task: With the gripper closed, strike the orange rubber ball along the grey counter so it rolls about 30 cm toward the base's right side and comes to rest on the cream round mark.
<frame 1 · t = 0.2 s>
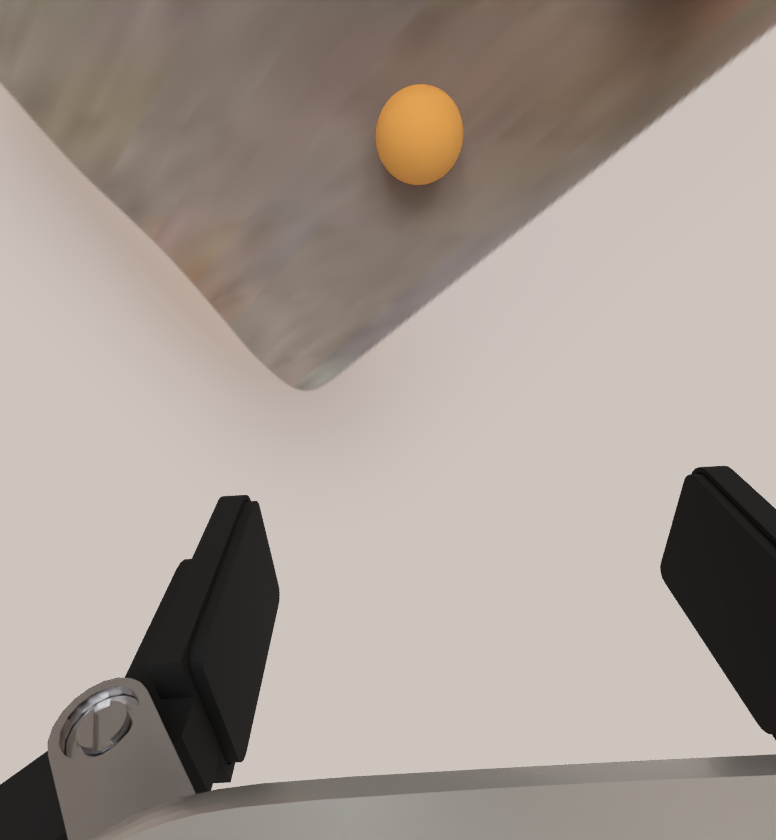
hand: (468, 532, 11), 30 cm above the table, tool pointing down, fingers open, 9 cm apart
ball: (419, 136, 31), on the table
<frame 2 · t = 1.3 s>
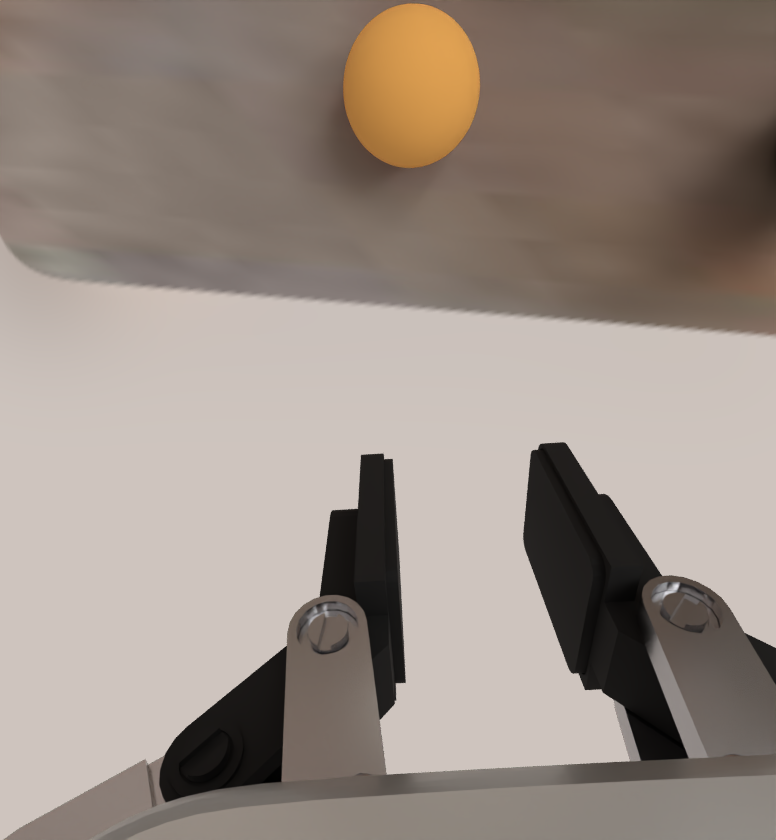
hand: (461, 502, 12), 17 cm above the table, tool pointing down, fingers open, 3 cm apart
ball: (411, 91, 20), on the table
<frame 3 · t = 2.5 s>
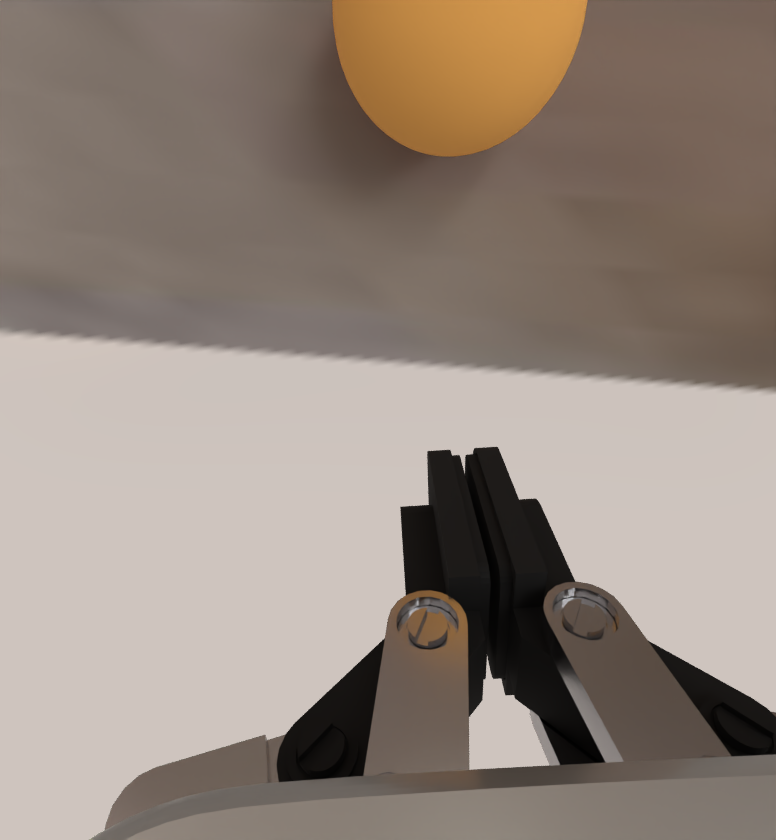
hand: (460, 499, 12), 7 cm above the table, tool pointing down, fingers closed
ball: (456, 17, 11), on the table
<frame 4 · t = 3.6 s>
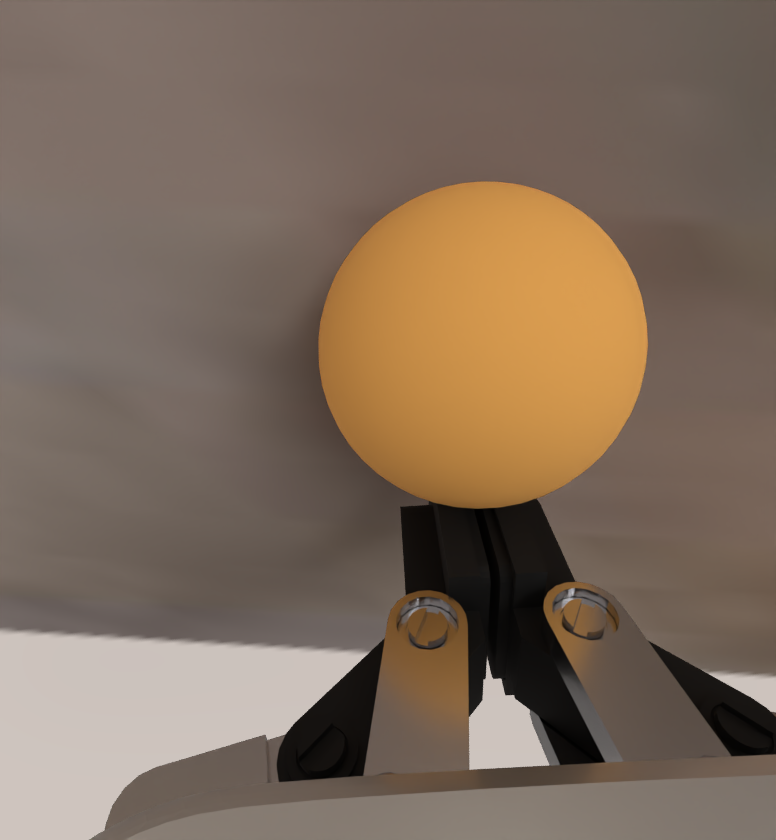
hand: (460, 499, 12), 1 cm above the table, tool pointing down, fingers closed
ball: (473, 352, 9), on the table
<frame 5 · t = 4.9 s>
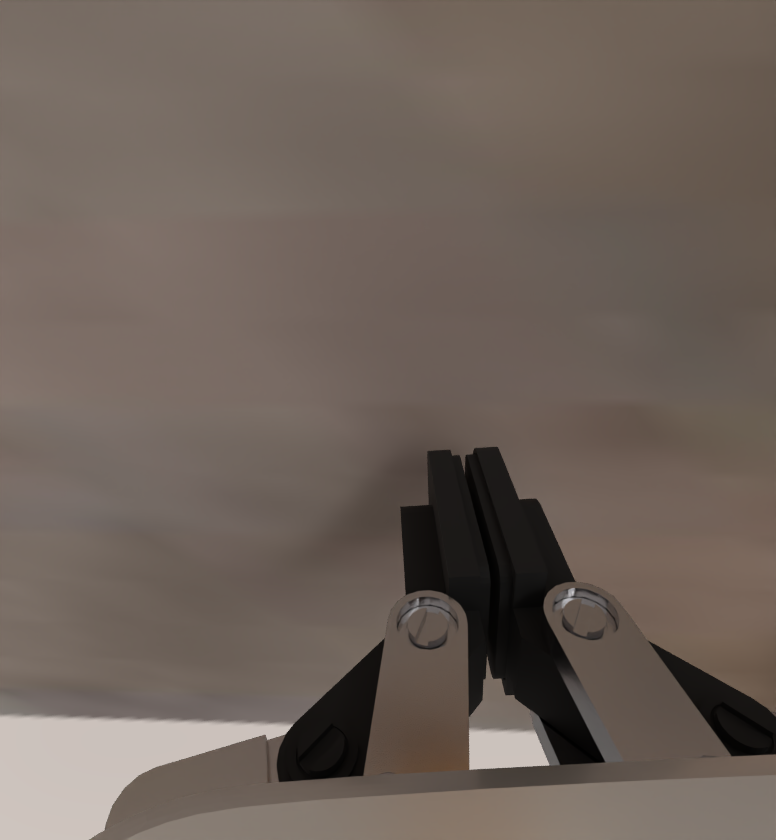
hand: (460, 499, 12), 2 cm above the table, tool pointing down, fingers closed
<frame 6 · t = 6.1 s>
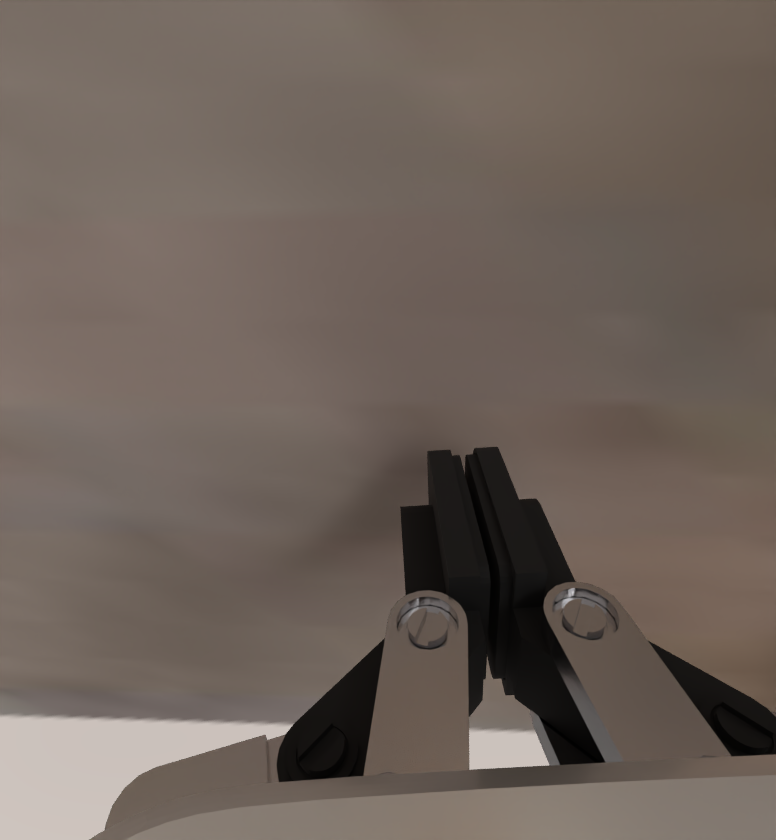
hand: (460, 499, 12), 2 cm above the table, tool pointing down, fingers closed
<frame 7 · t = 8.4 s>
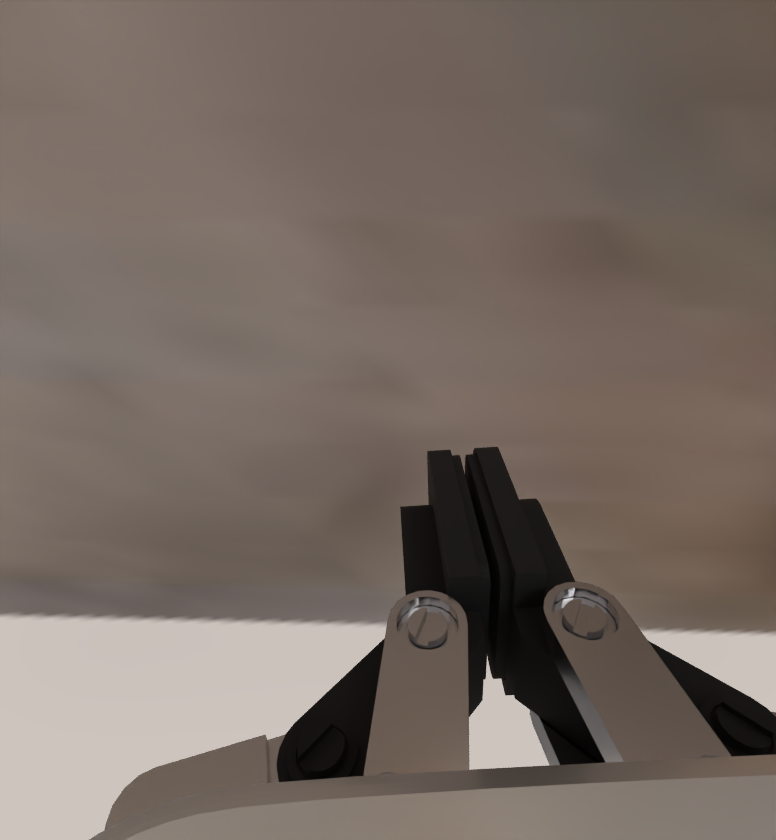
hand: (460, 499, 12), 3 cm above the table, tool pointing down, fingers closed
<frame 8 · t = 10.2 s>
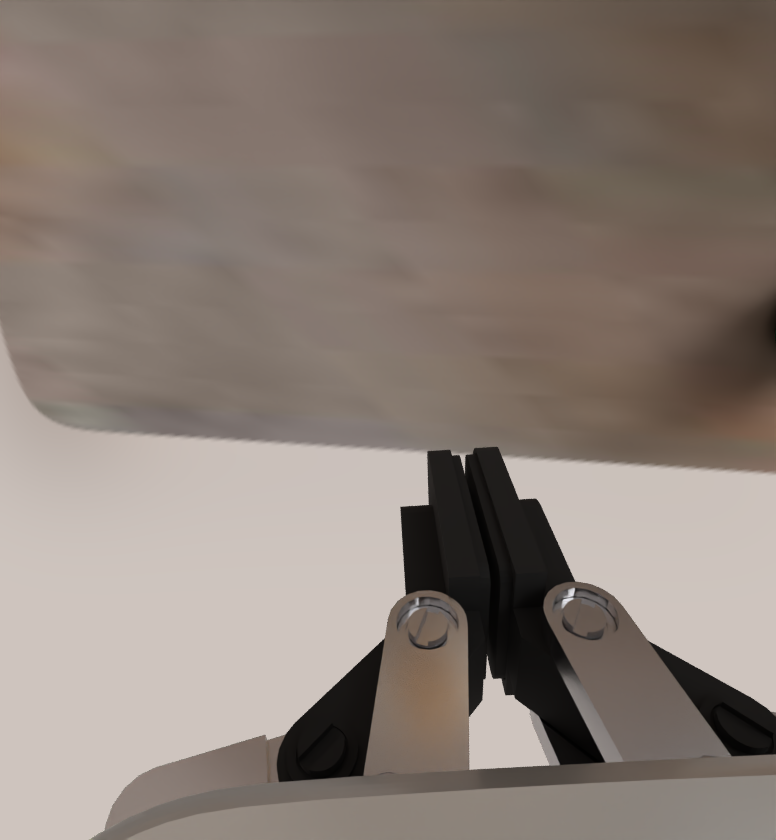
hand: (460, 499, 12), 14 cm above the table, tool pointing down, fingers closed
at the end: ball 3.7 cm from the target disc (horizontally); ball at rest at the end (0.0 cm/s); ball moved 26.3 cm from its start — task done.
